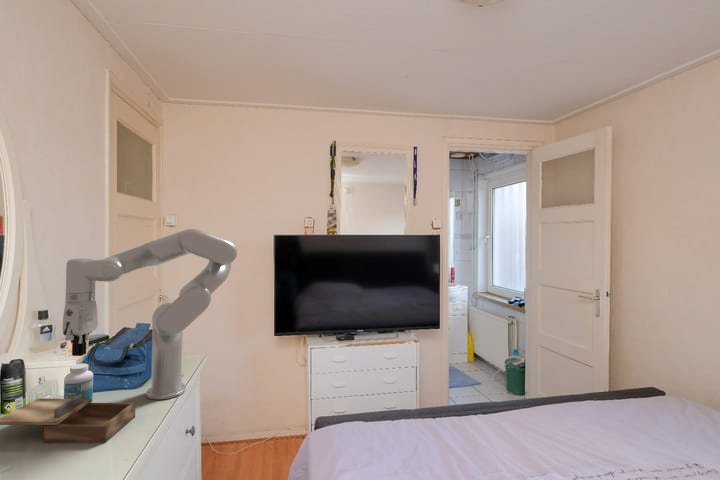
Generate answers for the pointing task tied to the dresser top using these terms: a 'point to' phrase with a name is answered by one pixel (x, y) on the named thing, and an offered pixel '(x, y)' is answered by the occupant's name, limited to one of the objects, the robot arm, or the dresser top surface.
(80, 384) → the pill bottle
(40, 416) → the lid
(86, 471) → the dresser top surface
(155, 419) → the dresser top surface
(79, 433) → the box
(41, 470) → the dresser top surface
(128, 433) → the dresser top surface
